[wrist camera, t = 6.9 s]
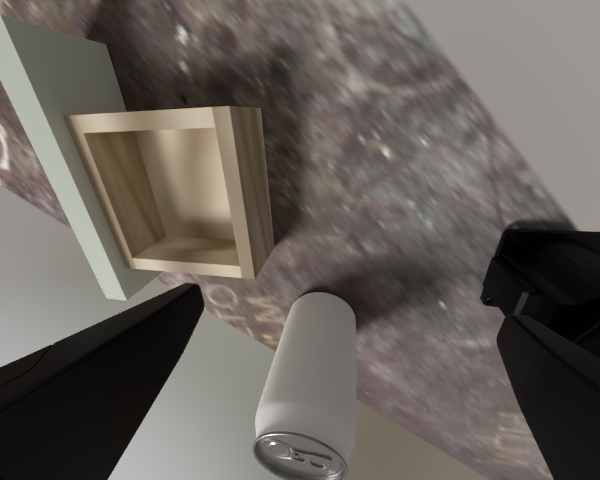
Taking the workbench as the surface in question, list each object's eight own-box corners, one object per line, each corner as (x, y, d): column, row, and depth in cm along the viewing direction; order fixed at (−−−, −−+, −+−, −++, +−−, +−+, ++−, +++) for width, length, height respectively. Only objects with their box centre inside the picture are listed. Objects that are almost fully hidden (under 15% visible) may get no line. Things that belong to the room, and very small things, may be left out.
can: (293, 283, 24) (244, 416, 13) (362, 297, 23) (367, 451, 12) (288, 331, 27) (245, 471, 16) (349, 345, 26) (344, 502, 15)
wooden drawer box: (260, 108, 18) (229, 105, 13) (274, 246, 22) (254, 278, 18) (128, 115, 20) (62, 115, 15) (167, 240, 25) (125, 268, 20)
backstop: (106, 44, 18) (0, 14, 12) (173, 262, 26) (126, 300, 20) (83, 47, 18) (-29, 19, 13) (156, 261, 26) (106, 298, 21)
